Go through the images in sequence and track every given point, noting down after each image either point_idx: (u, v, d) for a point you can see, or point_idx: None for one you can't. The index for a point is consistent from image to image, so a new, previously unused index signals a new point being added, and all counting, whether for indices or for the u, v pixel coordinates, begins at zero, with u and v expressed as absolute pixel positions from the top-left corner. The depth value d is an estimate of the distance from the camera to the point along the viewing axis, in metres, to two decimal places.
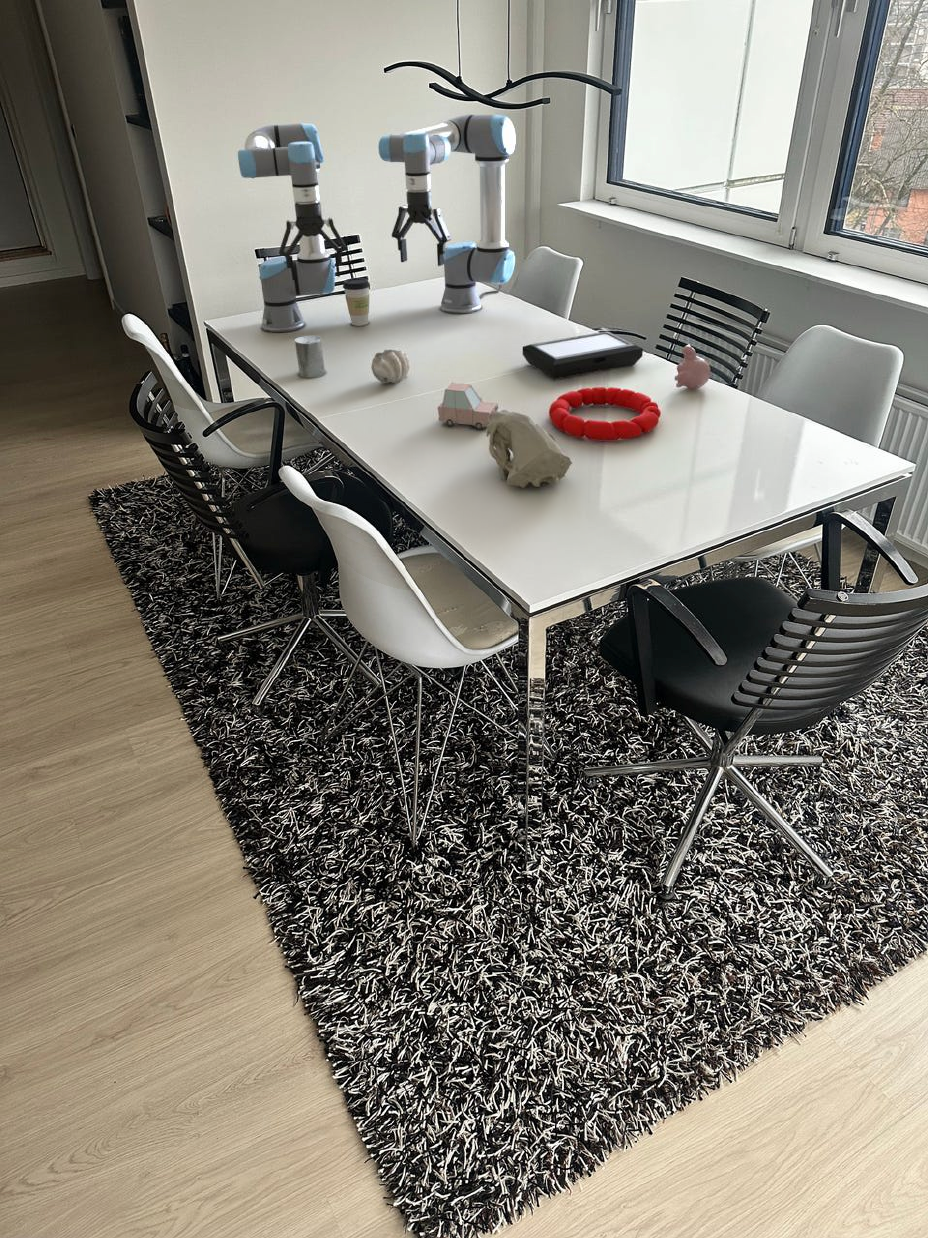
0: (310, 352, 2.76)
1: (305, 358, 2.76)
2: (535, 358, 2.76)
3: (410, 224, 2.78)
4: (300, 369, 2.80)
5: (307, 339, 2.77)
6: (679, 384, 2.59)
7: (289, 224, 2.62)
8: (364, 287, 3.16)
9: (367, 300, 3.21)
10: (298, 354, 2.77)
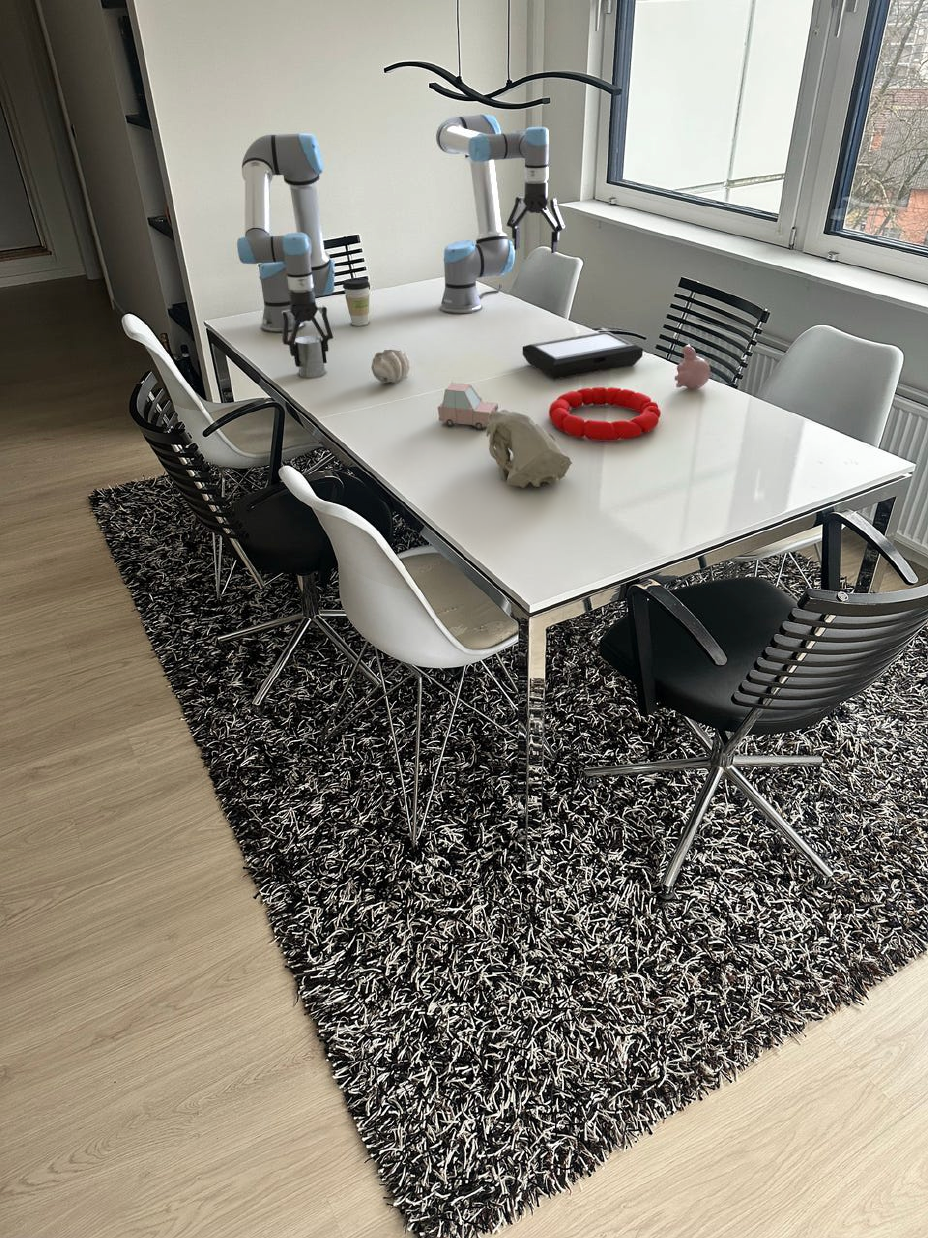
0: (310, 352, 2.76)
1: (305, 357, 2.76)
2: (535, 358, 2.76)
3: (525, 214, 2.96)
4: (300, 369, 2.80)
5: (307, 339, 2.77)
6: (679, 384, 2.59)
7: (285, 314, 2.70)
8: (364, 287, 3.16)
9: (367, 300, 3.21)
10: (298, 354, 2.77)
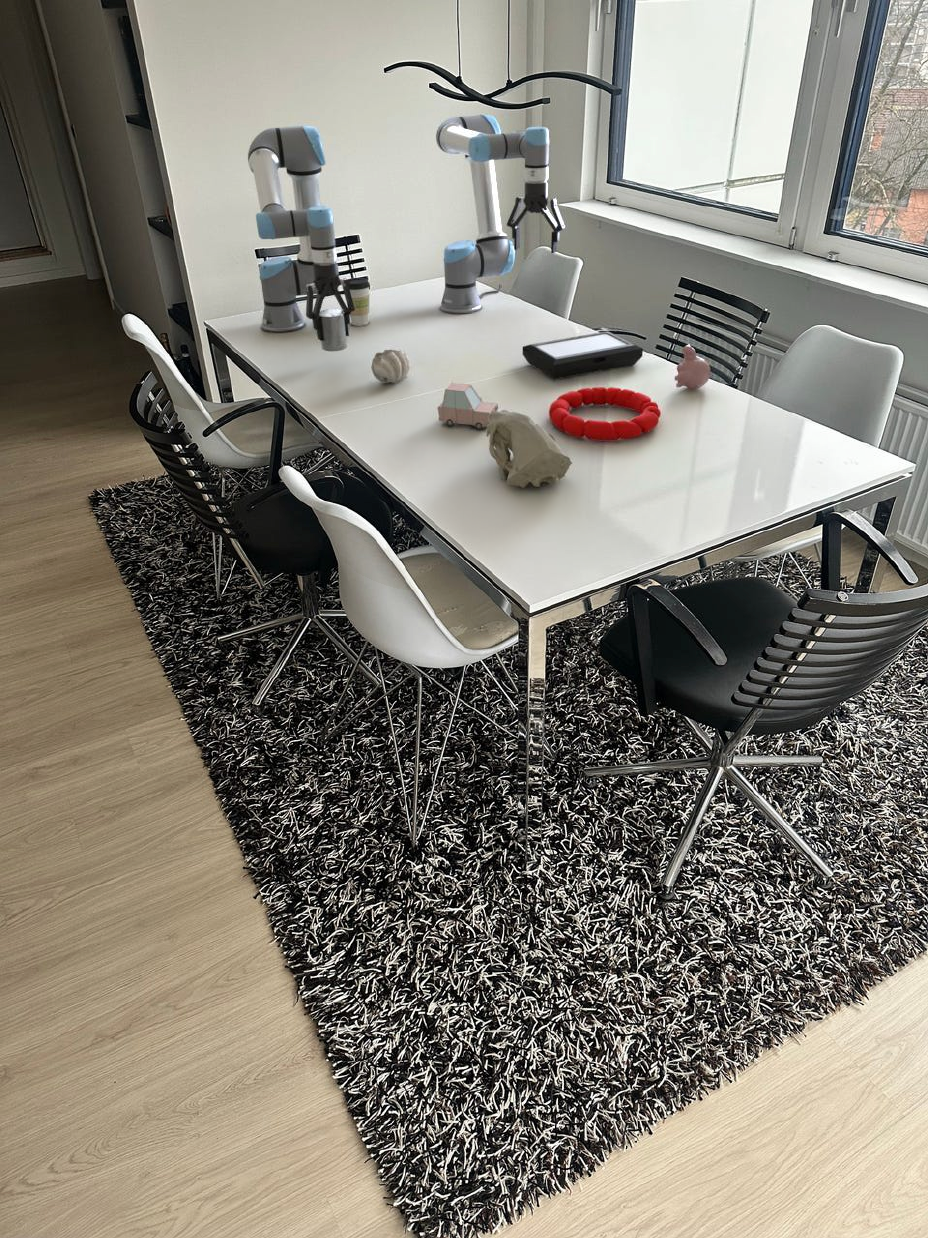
0: (335, 325, 2.78)
1: (330, 331, 2.79)
2: (535, 358, 2.76)
3: (526, 214, 2.96)
4: (324, 343, 2.82)
5: (330, 313, 2.79)
6: (679, 384, 2.59)
7: (311, 288, 2.71)
8: (364, 287, 3.16)
9: (367, 300, 3.21)
10: (322, 328, 2.79)
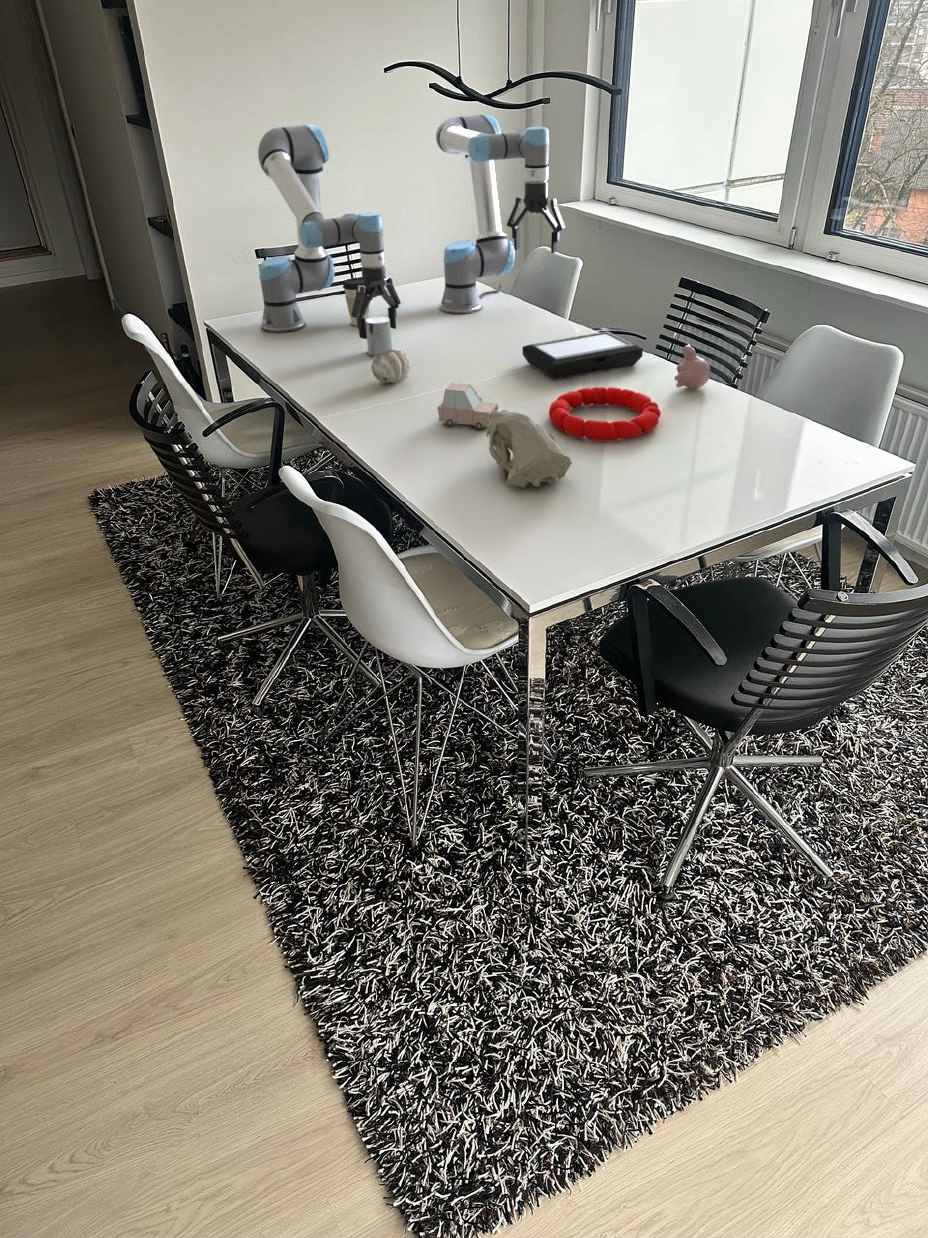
0: (385, 330, 2.92)
1: (381, 337, 2.92)
2: (535, 358, 2.76)
3: (526, 214, 2.96)
4: (374, 349, 2.94)
5: (377, 319, 2.92)
6: (679, 384, 2.59)
7: (363, 288, 2.82)
8: None
9: None
10: (373, 335, 2.92)
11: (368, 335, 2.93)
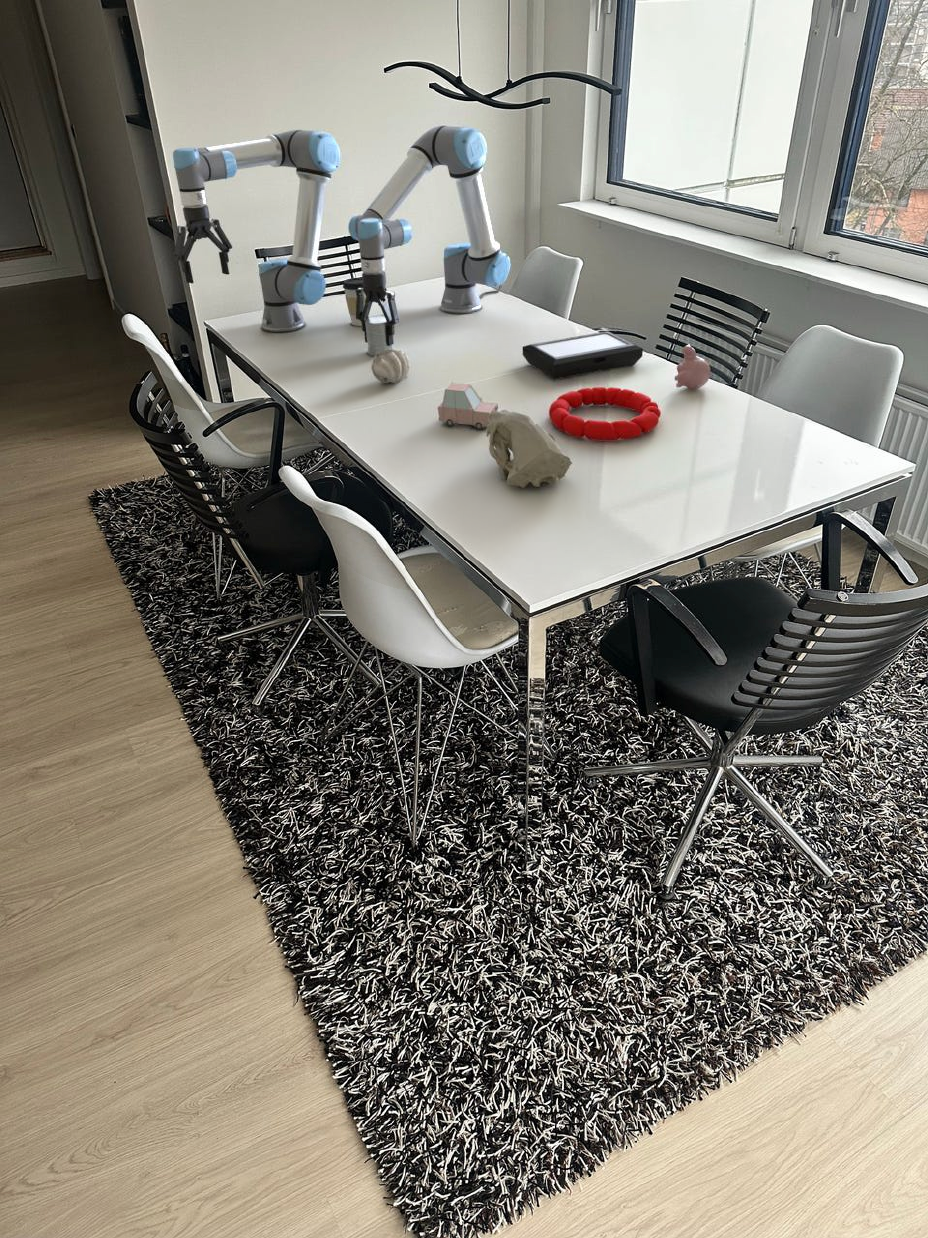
0: (385, 330, 2.92)
1: (381, 337, 2.92)
2: (535, 358, 2.76)
3: (369, 304, 2.91)
4: (374, 349, 2.94)
5: (377, 319, 2.92)
6: (679, 384, 2.59)
7: (184, 229, 2.70)
8: None
9: None
10: (373, 335, 2.92)
11: (368, 335, 2.93)
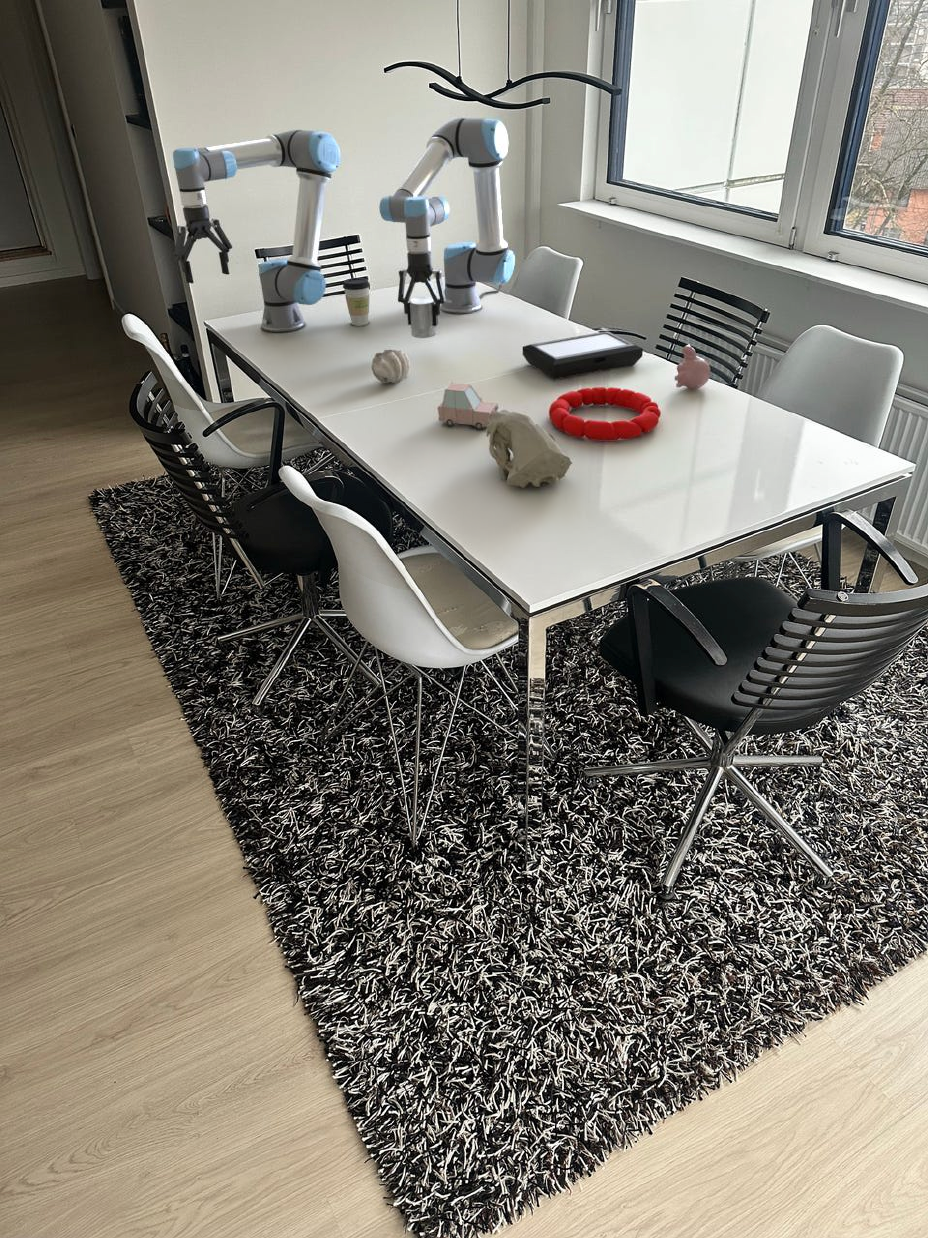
0: (432, 310, 2.88)
1: (429, 317, 2.88)
2: (535, 358, 2.76)
3: (413, 285, 2.85)
4: (421, 330, 2.89)
5: (421, 300, 2.88)
6: (679, 384, 2.59)
7: (184, 229, 2.70)
8: (364, 287, 3.16)
9: (367, 300, 3.21)
10: (421, 316, 2.87)
11: (414, 317, 2.88)
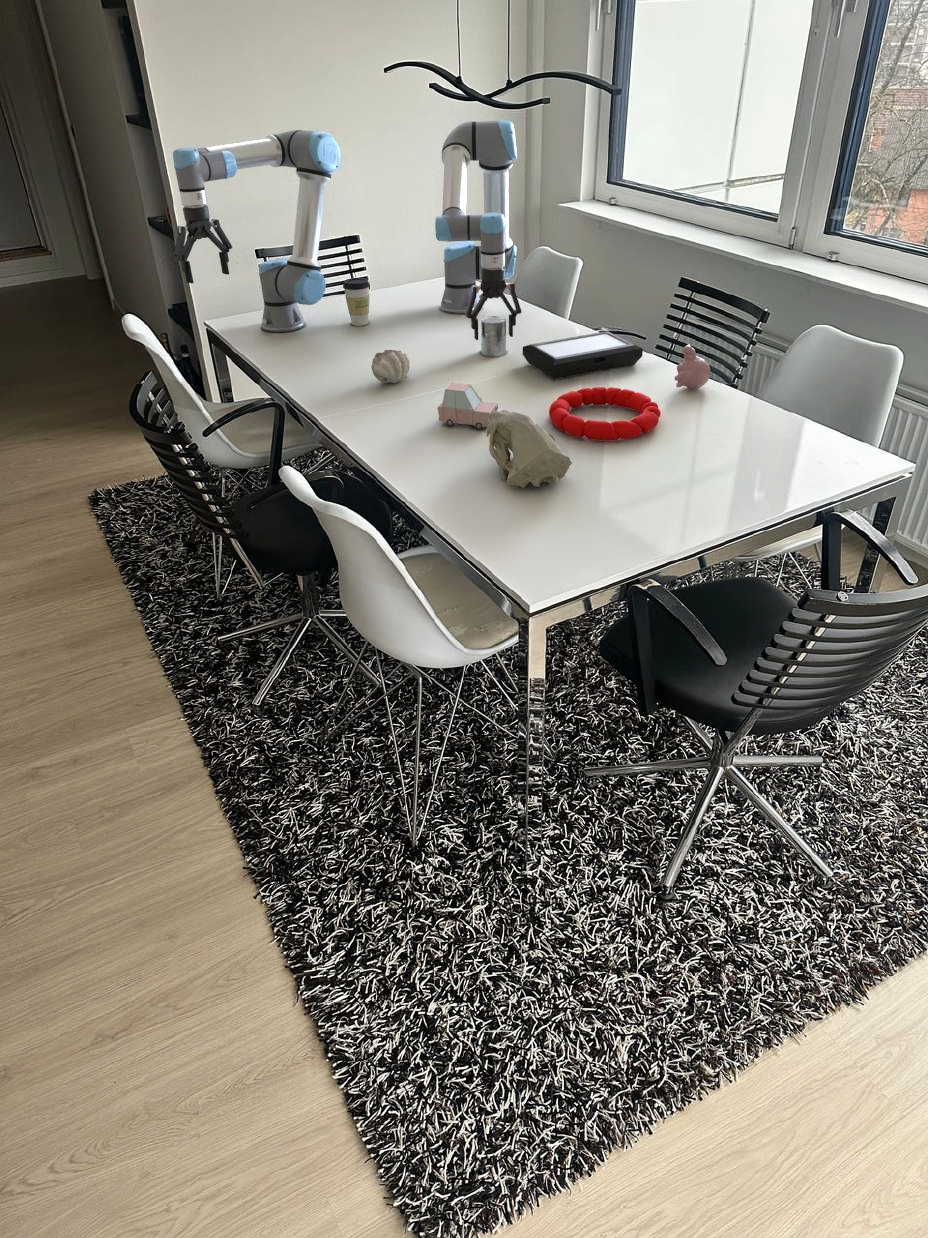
0: (505, 328, 2.90)
1: (504, 335, 2.90)
2: (535, 358, 2.76)
3: None
4: (498, 349, 2.91)
5: (493, 319, 2.89)
6: (679, 384, 2.59)
7: (184, 229, 2.70)
8: (364, 287, 3.16)
9: (367, 300, 3.21)
10: (498, 334, 2.88)
11: (491, 336, 2.88)
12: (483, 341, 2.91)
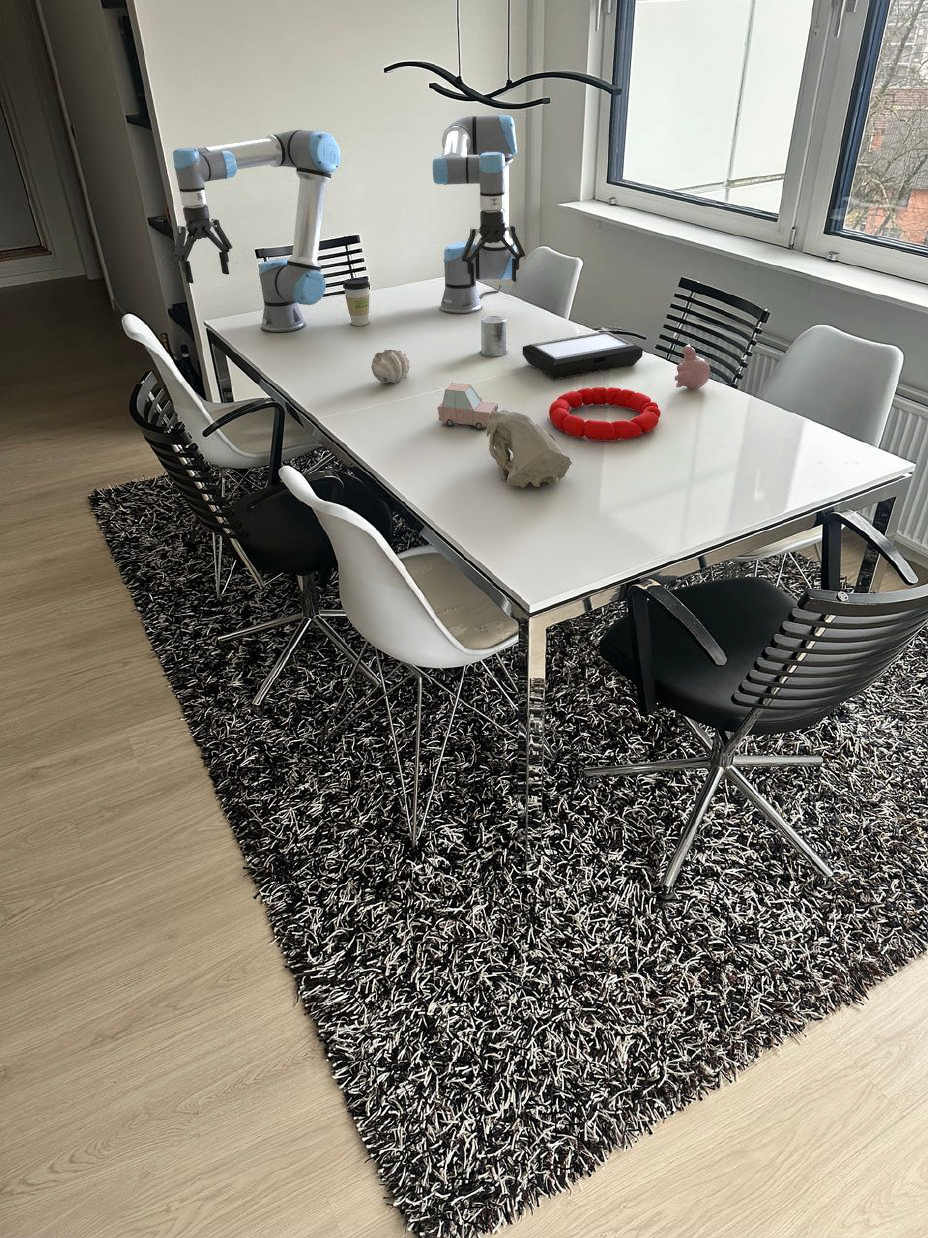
0: (505, 328, 2.90)
1: (504, 335, 2.90)
2: (535, 358, 2.76)
3: None
4: (498, 349, 2.91)
5: (493, 319, 2.89)
6: (679, 384, 2.59)
7: (184, 229, 2.70)
8: (364, 287, 3.16)
9: (367, 300, 3.21)
10: (498, 334, 2.88)
11: (491, 336, 2.88)
12: (483, 341, 2.91)
